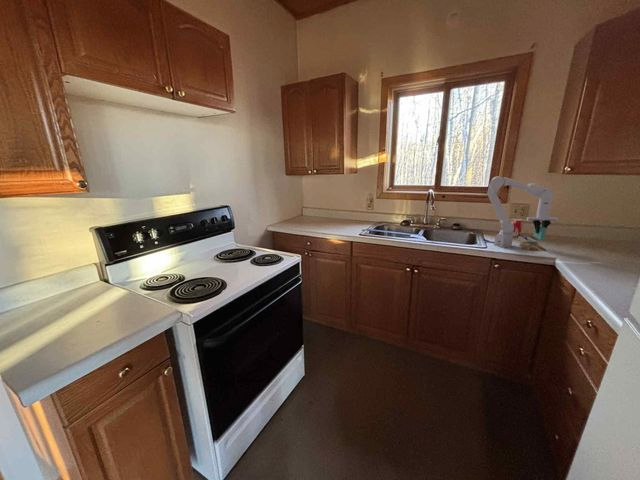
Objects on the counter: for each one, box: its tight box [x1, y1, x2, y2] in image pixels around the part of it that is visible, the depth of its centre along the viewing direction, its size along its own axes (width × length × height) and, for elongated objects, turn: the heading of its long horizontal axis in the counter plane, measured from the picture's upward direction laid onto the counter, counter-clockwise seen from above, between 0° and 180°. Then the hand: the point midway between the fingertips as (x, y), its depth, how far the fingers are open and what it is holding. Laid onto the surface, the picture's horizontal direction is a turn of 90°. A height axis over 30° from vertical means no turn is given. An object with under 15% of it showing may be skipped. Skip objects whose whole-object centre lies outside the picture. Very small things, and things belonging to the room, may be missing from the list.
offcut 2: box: [522, 243, 531, 251], centre depth 161 cm, size 2×4×3 cm, turn 164°
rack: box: [519, 243, 547, 252], centre depth 162 cm, size 10×10×2 cm
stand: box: [517, 236, 538, 246], centre depth 174 cm, size 6×12×3 cm, turn 164°
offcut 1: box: [519, 240, 527, 249], centre depth 165 cm, size 2×4×4 cm, turn 164°
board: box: [532, 225, 548, 241], centre depth 159 cm, size 2×9×7 cm, turn 164°
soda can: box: [510, 218, 524, 238], centre depth 192 cm, size 7×7×12 cm
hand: (539, 233), depth 159 cm, fingers closed on board, 2 cm apart
